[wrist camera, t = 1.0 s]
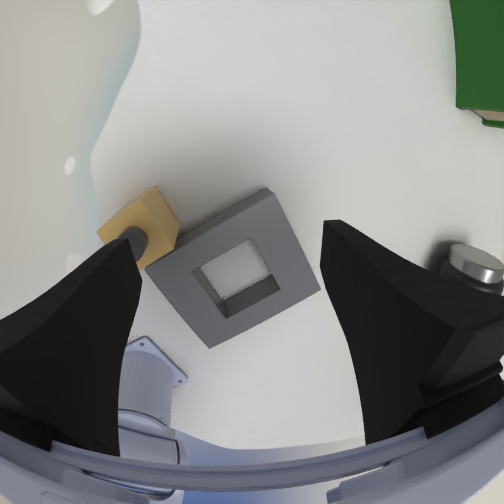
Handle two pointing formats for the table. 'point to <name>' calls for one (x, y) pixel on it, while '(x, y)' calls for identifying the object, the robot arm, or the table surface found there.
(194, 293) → the socket housing
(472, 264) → the muzzle brake
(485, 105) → the hardback book
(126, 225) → the plug
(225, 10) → the table surface
